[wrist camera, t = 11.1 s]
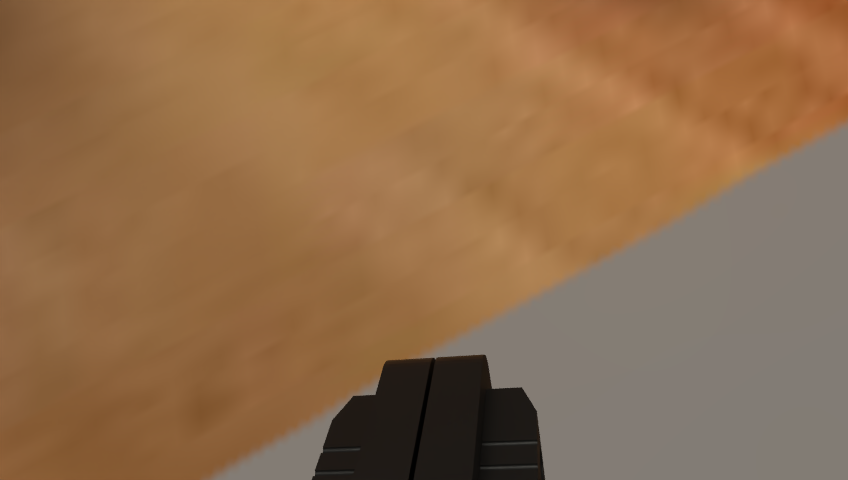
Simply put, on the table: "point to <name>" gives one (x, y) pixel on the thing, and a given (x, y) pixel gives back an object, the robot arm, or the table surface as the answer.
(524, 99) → the table surface
